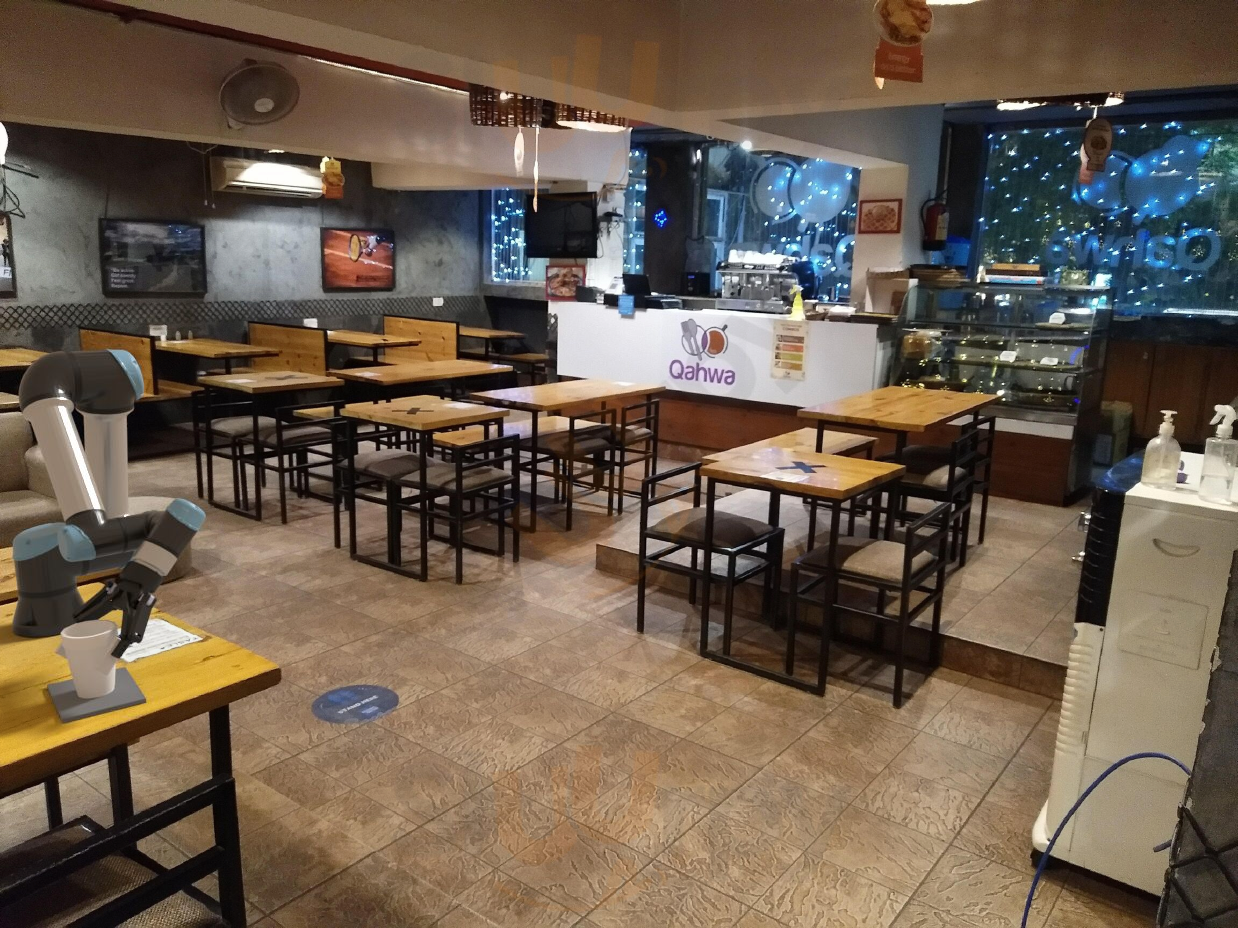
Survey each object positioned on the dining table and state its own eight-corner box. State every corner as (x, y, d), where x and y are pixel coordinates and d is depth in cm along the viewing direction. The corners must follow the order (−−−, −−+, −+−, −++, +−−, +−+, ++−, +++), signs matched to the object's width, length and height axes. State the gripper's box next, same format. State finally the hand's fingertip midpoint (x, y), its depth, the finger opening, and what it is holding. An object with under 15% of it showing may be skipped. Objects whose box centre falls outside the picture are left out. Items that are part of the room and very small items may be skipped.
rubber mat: (47, 688, 179) (46, 684, 179) (125, 670, 188) (125, 666, 188) (62, 723, 166) (62, 719, 166) (146, 701, 175) (146, 698, 174)
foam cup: (98, 704, 171) (91, 640, 169) (56, 699, 173) (48, 635, 171) (133, 682, 181) (127, 621, 178) (93, 678, 182) (87, 617, 180)
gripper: (199, 588, 180) (133, 686, 170) (125, 566, 192) (60, 656, 182) (172, 570, 174) (103, 670, 165) (98, 549, 186) (29, 641, 177)
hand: (80, 663), depth 173 cm, fingers open, 13 cm apart
